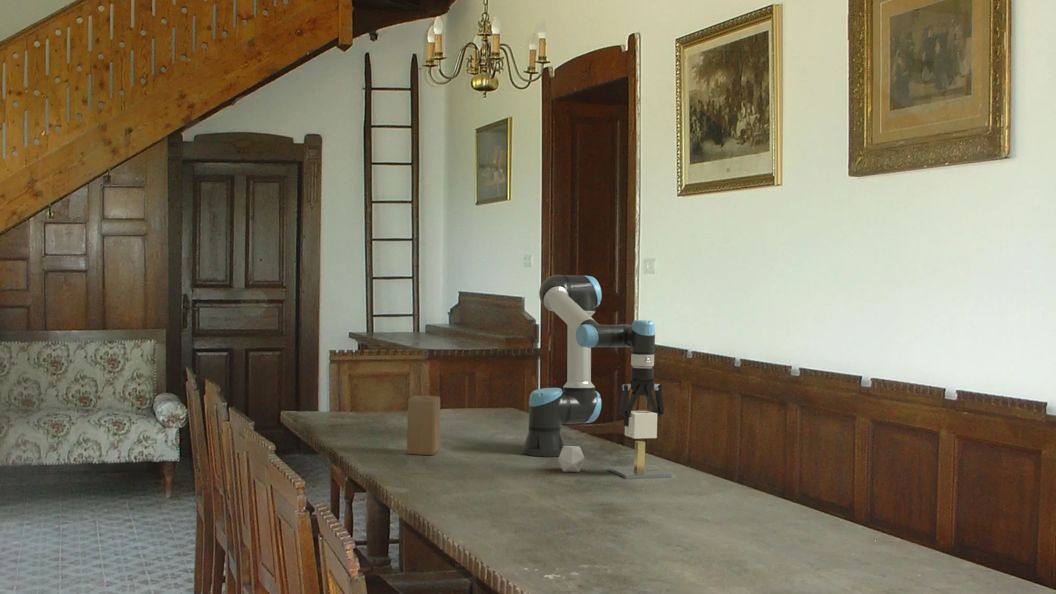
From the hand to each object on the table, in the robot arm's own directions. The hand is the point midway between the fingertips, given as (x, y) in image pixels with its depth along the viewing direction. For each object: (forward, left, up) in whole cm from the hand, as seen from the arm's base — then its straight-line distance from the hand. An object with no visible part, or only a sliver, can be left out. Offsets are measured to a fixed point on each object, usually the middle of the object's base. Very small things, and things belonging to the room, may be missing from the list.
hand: (640, 435), depth 363 cm
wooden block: (-62, +49, -13) cm, 80 cm away
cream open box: (0, 0, 0) cm, 0 cm away
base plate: (0, 0, -12) cm, 12 cm away
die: (-21, +8, -13) cm, 26 cm away
